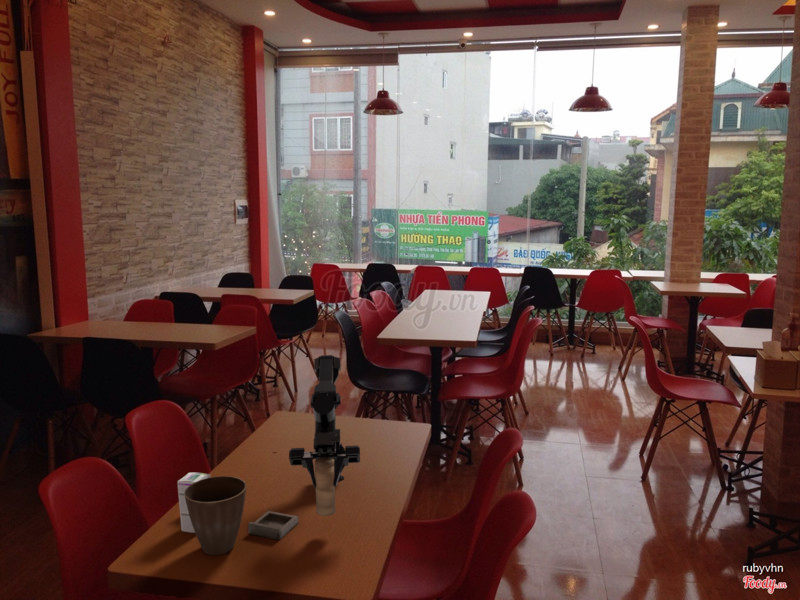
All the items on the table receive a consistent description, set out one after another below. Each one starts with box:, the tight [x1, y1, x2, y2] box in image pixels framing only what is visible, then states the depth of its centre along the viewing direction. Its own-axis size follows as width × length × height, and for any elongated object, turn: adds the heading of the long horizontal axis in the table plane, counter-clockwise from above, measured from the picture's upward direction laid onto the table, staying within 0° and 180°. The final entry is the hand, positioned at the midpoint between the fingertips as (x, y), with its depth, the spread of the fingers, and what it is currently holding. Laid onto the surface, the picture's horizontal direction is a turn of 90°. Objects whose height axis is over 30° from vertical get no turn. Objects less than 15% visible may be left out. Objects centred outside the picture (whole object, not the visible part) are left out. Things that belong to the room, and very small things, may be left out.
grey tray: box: [247, 510, 299, 541], centre depth 168 cm, size 10×10×3 cm
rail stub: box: [314, 457, 337, 517], centre depth 164 cm, size 5×5×14 cm
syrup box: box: [177, 472, 208, 534], centre depth 168 cm, size 6×6×14 cm
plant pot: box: [184, 475, 247, 556], centre depth 158 cm, size 15×15×16 cm
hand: (324, 486), depth 163 cm, fingers closed on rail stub, 5 cm apart
